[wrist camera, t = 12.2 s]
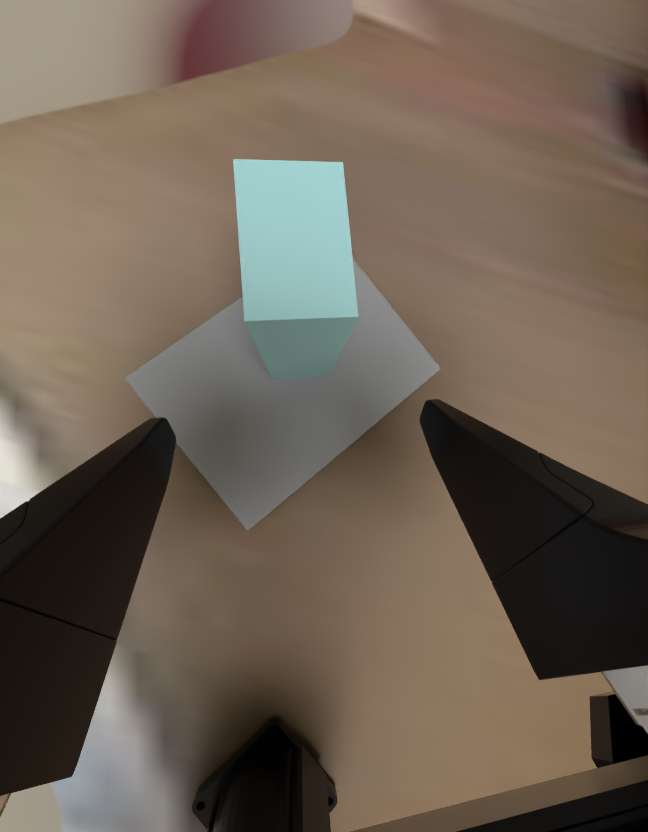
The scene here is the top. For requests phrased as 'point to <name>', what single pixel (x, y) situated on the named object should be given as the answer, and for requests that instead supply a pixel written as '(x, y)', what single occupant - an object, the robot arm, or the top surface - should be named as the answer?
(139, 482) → the robot arm
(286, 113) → the top surface
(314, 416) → the placemat
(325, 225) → the mint green pillar
